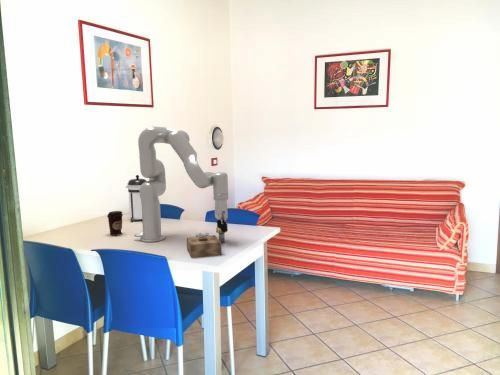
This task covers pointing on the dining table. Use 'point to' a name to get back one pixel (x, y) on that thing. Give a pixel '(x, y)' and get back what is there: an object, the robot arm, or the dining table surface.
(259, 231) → the dining table surface
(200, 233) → the adjustable wrench
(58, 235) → the dining table surface
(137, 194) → the coffee press
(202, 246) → the pin block
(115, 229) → the coffee cup
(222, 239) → the pin
